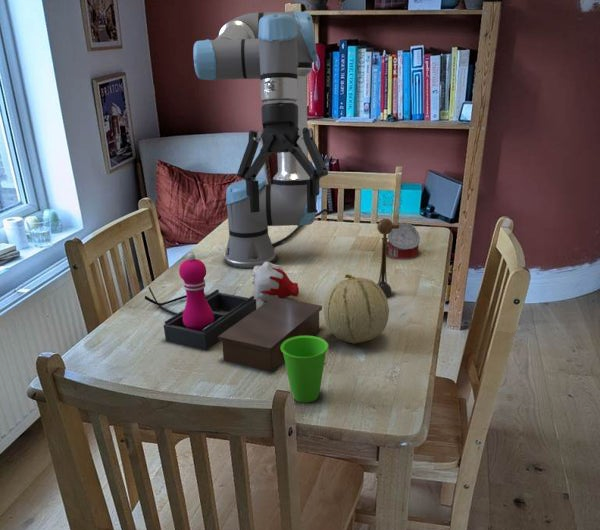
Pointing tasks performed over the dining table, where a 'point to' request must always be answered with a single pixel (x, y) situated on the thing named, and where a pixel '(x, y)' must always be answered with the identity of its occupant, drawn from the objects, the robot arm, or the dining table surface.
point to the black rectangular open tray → (222, 322)
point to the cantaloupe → (356, 310)
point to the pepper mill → (195, 294)
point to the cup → (304, 365)
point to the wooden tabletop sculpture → (385, 228)
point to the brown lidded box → (268, 332)
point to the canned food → (403, 242)
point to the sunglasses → (164, 302)
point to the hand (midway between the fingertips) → (282, 212)
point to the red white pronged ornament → (272, 282)
